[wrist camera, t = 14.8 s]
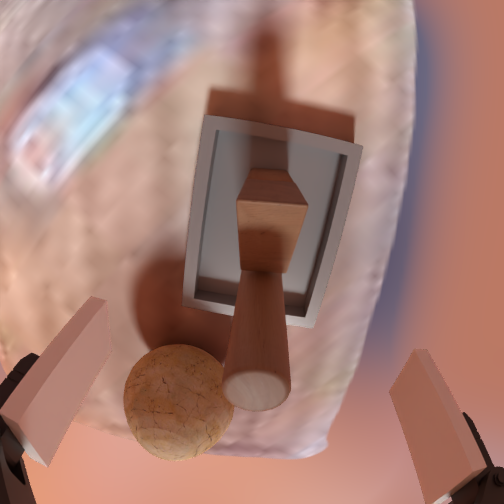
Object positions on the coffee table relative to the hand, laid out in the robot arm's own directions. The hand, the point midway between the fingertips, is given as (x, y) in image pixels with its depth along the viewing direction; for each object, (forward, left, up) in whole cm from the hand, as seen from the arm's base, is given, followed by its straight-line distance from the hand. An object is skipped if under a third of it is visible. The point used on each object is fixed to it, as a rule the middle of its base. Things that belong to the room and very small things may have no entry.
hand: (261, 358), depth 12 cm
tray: (0, 0, -20) cm, 20 cm away
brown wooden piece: (0, 0, -20) cm, 20 cm away
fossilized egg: (+20, -6, -21) cm, 29 cm away
